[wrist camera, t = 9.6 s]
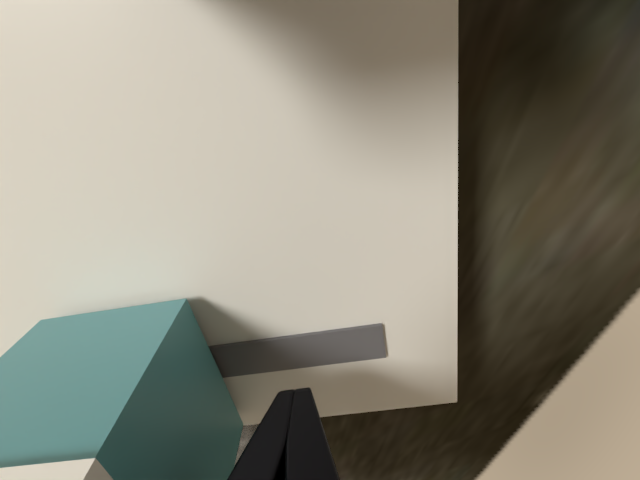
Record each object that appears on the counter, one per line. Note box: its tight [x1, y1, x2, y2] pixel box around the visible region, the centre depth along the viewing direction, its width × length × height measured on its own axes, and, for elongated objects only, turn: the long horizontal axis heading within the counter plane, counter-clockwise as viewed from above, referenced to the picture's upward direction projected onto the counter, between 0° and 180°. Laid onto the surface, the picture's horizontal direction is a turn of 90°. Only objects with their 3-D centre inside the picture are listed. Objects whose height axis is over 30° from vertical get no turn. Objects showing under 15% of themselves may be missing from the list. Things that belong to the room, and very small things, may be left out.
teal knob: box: [0, 298, 243, 480], centre depth 8 cm, size 4×5×5 cm
